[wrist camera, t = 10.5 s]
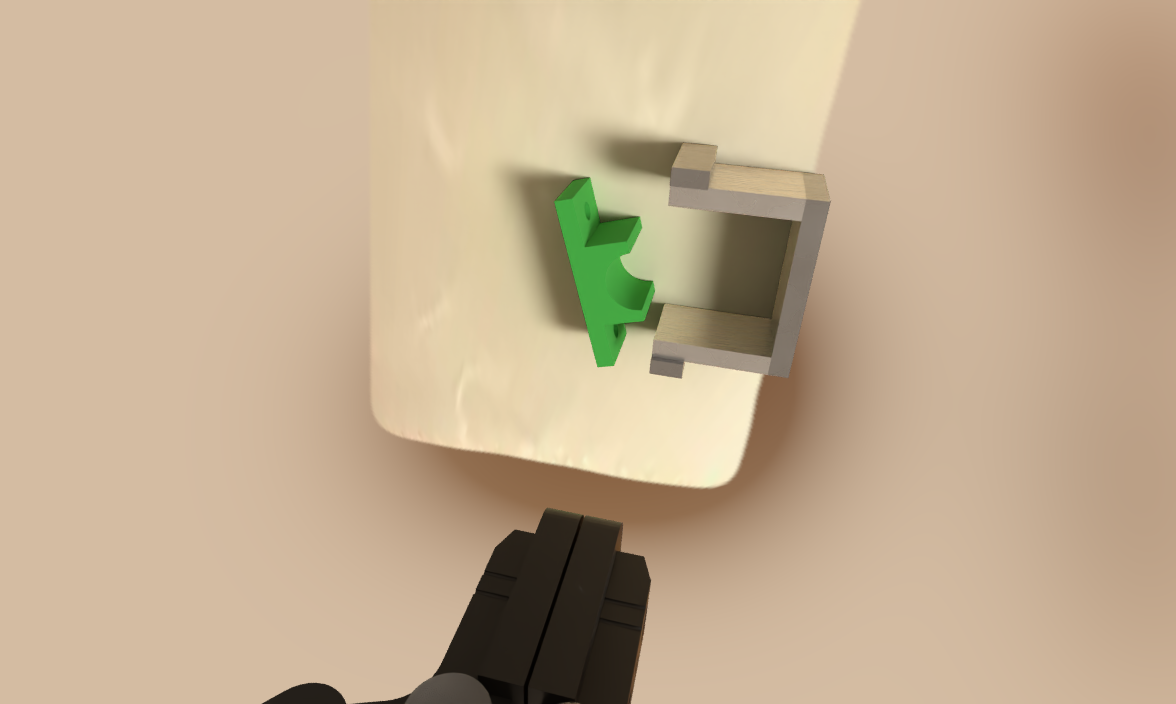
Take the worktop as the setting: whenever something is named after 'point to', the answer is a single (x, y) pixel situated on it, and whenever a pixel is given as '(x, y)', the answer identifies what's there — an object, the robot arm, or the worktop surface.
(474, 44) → the worktop surface
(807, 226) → the grey u-shaped bracket
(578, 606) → the robot arm
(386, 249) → the worktop surface
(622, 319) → the pipe clamp
